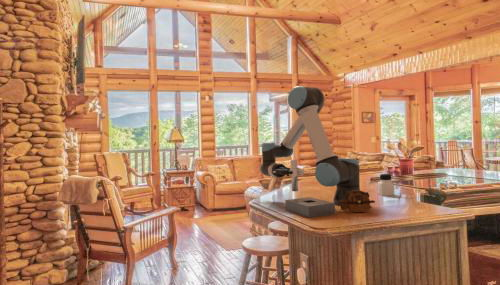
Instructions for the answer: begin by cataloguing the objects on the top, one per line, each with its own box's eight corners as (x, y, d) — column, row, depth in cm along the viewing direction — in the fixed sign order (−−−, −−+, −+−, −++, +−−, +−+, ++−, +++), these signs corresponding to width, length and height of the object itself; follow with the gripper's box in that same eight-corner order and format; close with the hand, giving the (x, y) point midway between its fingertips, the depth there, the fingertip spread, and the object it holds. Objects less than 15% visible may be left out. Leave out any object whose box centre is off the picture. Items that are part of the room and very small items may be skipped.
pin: (299, 190, 192) (297, 159, 192) (297, 191, 190) (296, 159, 189) (292, 190, 194) (291, 159, 194) (291, 191, 191) (289, 159, 191)
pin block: (285, 210, 181) (285, 199, 181) (310, 207, 187) (309, 197, 187) (308, 217, 163) (308, 206, 163) (335, 214, 169) (334, 203, 169)
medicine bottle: (394, 195, 213) (394, 174, 213) (381, 195, 213) (381, 174, 213) (390, 193, 220) (389, 173, 220) (377, 193, 221) (377, 173, 220)
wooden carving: (339, 213, 170) (339, 191, 169) (337, 211, 174) (337, 190, 174) (376, 213, 169) (376, 190, 169) (373, 210, 173) (373, 189, 173)
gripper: (290, 175, 211) (314, 178, 190) (264, 178, 205) (286, 181, 183) (289, 162, 211) (313, 164, 190) (264, 164, 204) (285, 166, 183)
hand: (300, 172), depth 187 cm, fingers closed on pin, 3 cm apart
